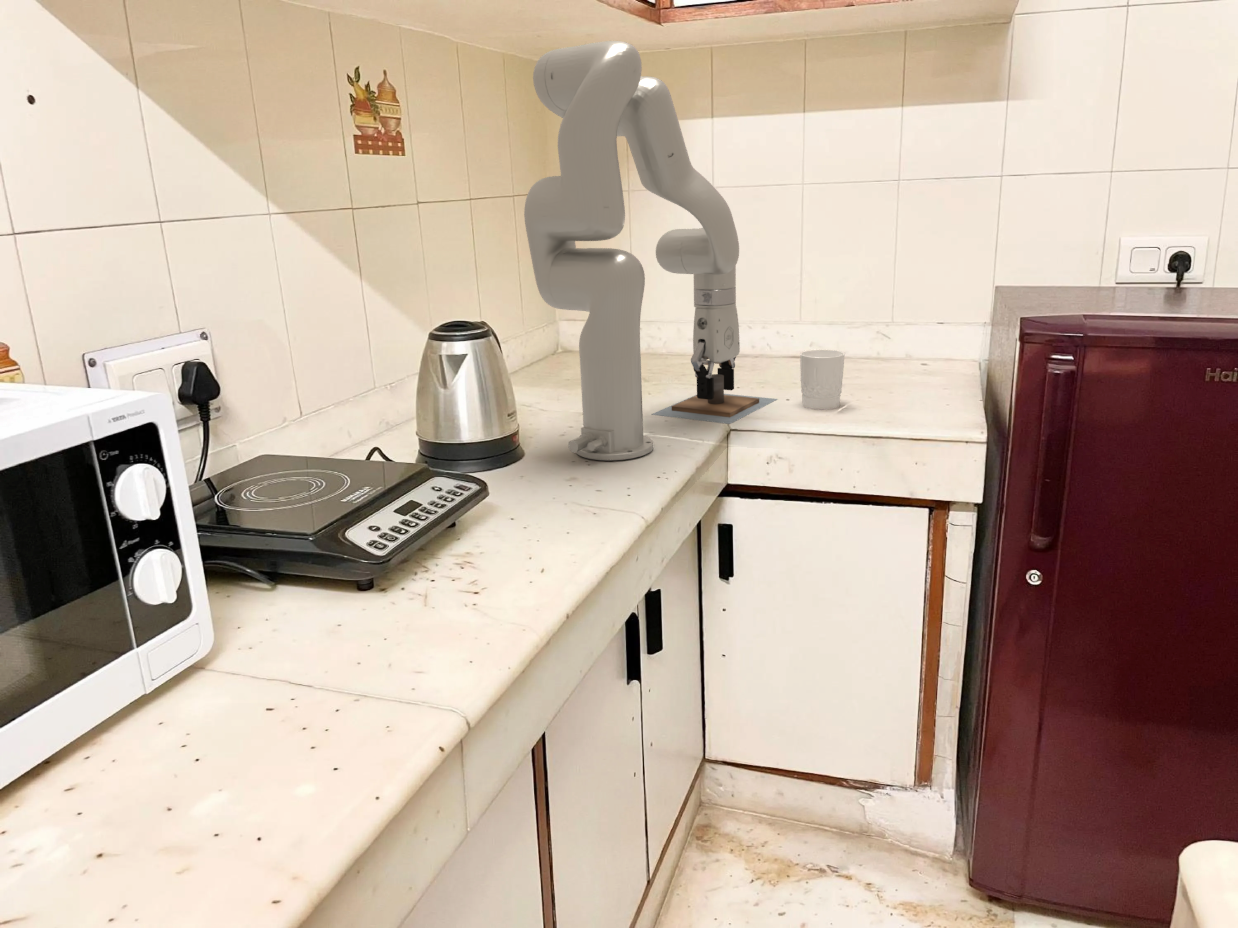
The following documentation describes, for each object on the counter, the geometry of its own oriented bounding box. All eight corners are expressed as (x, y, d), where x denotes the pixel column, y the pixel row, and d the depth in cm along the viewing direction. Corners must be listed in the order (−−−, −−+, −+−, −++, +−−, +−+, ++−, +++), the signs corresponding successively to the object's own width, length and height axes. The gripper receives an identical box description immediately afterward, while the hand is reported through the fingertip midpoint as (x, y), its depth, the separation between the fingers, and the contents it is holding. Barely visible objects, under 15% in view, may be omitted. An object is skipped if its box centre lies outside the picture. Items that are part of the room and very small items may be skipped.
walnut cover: (730, 417, 163) (729, 385, 161) (671, 410, 169) (670, 379, 167) (759, 402, 172) (759, 372, 170) (702, 396, 178) (702, 367, 177)
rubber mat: (729, 426, 158) (729, 423, 158) (651, 416, 167) (651, 414, 167) (777, 401, 174) (777, 399, 174) (703, 393, 183) (703, 391, 183)
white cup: (793, 410, 167) (794, 356, 164) (806, 400, 174) (807, 348, 171) (836, 413, 164) (838, 358, 161) (847, 403, 170) (849, 350, 167)
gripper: (710, 305, 156) (711, 406, 161) (754, 292, 169) (754, 386, 175) (672, 303, 160) (674, 402, 165) (718, 291, 173) (719, 383, 179)
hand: (715, 393), depth 170 cm, fingers open, 7 cm apart
